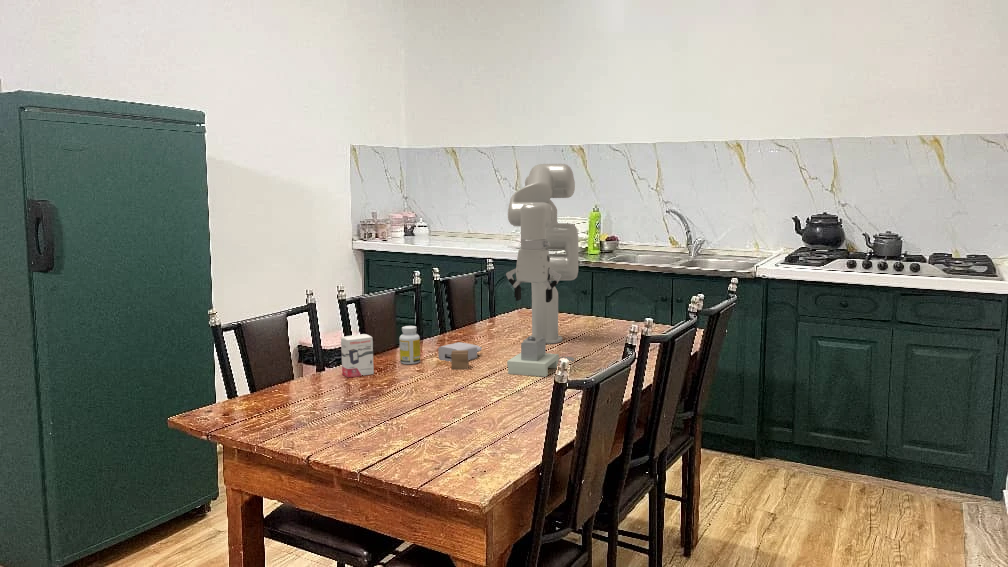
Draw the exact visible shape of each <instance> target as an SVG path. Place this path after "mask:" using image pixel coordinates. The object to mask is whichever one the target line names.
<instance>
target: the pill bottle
mask: <svg viewBox="0 0 1008 567" xmlns="http://www.w3.org/2000/svg"><path fill="white" fill-rule="evenodd" d="M401 331H402V334H401V335H400V336H399V338H398V340H399V361H400V363H401V364H404V365H415V364H419V363H420V362H421V338H420V337H421V336H420V335H419V334H418V333H417V326H415V325H405V326H402V327H401Z"/></svg>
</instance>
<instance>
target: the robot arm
mask: <svg viewBox="0 0 1008 567" xmlns="http://www.w3.org/2000/svg"><path fill="white" fill-rule="evenodd" d="M575 189H576V181H575V177H574V173H573V170H572V168H571V167H570V166H569V165H568V164H566V163H540V164H539V163H538V164H536V165H534V166H532V168H531V169H530V171H529V174H528V175H527V176H526V177H525V180H524V187H522V188H520V189H518V190H517V191H515V192H514V193H513V194H512V195H511V197H510V200H509V204H508V207H507V220H508V223H509V224H510V225H511V226H513V227H520V248H519V249H518V252H517V258H516V267H515V268H514V269H511V270H510V271H509V270H508V271H507V272H506V273H505V275H506V278H507V279H508V282H509V284H510V285H512V287H513V289H514V297H513V298H515V301H516V302H519V301H520V300H522V287H521V284H522V283H529V284H530V283H531V335H533V336H544V338H546V344H547V345H548V344H557V343H561V342H562V341H563V336H561V335H559V291H558V290H557V288H556V285H558V283H559V282H560V281H575V279H577V278H578V275H579V274H578V273H579V232H578V228H577V226H576V225H575V224H573V223H566V222H565V223H564V222H562V223H561V222H559V223H558V209H557V206H556V205H555V203H554V202H553V201H552V200H551V199H568V198H571V197H572V196H573V195H574V193H575ZM553 250H554V251H564V253H550V251H553ZM513 275H515V278H516V280H515V278H514V276H513ZM531 335H529V336H528V337H530V336H531Z"/></svg>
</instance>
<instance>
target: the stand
mask: <svg viewBox="0 0 1008 567" xmlns="http://www.w3.org/2000/svg"><path fill="white" fill-rule="evenodd" d="M559 354H560V353H551V352H546V355H545V356H543V357H542V358H541V359H539V360H538V361H528V360H521V352H520V353H518V354H516V355H515V356H513V357H512V358H510V359H508V360H507V362H506V363H507V364H506V365H507V374H509V375H522V376H532V377H542V378H543V377H545V378H546V377H547V376H548V375H549V374H548V372H549V370H548V369H549V368H550V369H557V364H558V365H559V358H560V357H559Z"/></svg>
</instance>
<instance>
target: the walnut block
mask: <svg viewBox="0 0 1008 567" xmlns="http://www.w3.org/2000/svg"><path fill="white" fill-rule="evenodd" d="M450 363H451V370H452V371H454V370H455V371H456V370H468V369H469V360H468V350H457V351H452V353H451V362H450Z"/></svg>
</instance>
